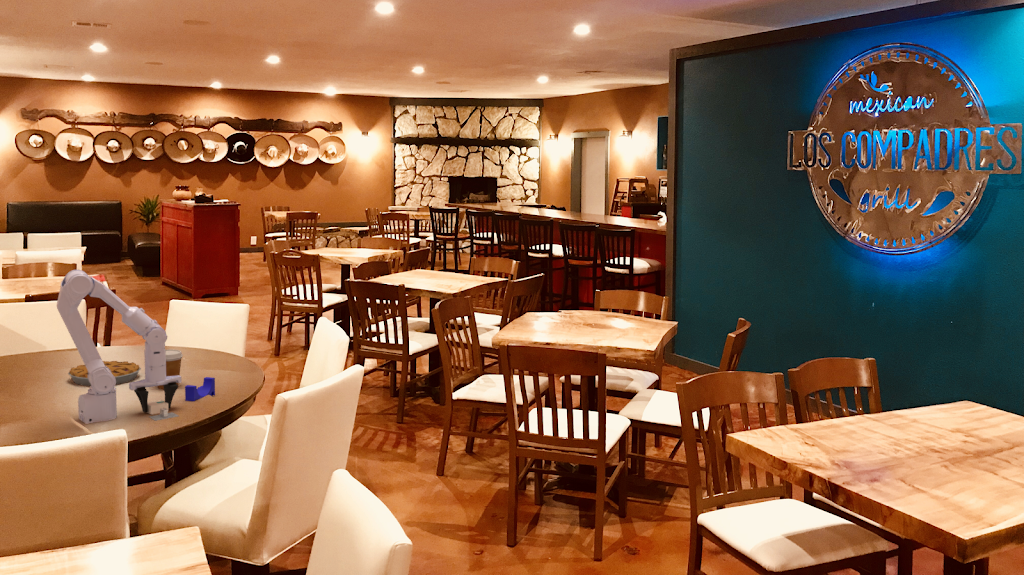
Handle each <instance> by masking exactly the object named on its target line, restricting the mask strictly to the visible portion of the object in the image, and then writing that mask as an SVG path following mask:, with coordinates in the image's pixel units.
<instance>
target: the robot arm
mask: <svg viewBox="0 0 1024 575" xmlns="http://www.w3.org/2000/svg"><path fill="white" fill-rule="evenodd" d="M87 295H88V296H89V297H91V298H97V299H98V298H99V299H101V300H102V301H103V302H105V303H106V304H107V305H108V306H110V307H111V308H112V309H113V310H115V311H116V312H118V313H119V315H121V322H122V323H123V324H124V325H126V326H127V327H129V328H130V329H131V330H132V331H133V332H135V333H136V334H137V335H138V336H140V337H141V336H142V337H141V338H142V339H143V340H144V353H143V354H144V355H143V356H144V379H141V380H140V379H139V380H136V381H133V382H132V381H131V382H128V389H129V390H130V391H134V394H136V396H137V399H138V400H139V403H140V406H141V411H142V412H143V413H148V404H147V402H148V400H149V399H148V398H149V391H148V390H147V388H152V387H158V386H159V385H163V386H164V389H163V391H164V402H166V403H168V409H171V405H172V401H173V398H174V396H175V393H176V391H177V390H178V388H179V385H177V384H176V383H179V384H181V383H182V376H181V375H180V376H179V375H177V376H166V350H167V349H166V342H167V340H168V335H167V332H166V330H165V329H164V328H163V327H162V326H161V325H160V324H159V323H158V320H156V319H153V318H151V317H150V316H149V315H148V314H147V313H145V312H146V311H145V310H144V309H143V307H140V308H139V307H138V306H130V305H128V304H127V303H126V302H124V300H122V299H121V298H120V297H119V296H118V295H117V294H115V293H114V292H113V291H112V290H111V289H110V288H109V287H108V286H106V284H104V283H102V282H101V281H100V280H98V279H96V278H94V277H93V276H89V274H88V273H86V272H85V271H84V270H82V269H81V270H80V269H73V270H70V271H69V272H68V273H66V274H65V276H64V278H63V279H62V280H61V282H60V289H59V292H58V297H57V302H56V309H57V311H58V313H59V315H60V318H61V319H62V321H63V323H64V325H65V327H66V329H67V331H68V334H69V335H70V337H71V340H72V341H73V344H74V345H75V348H76V349H77V352H78V354H79V355H80V358H81V359H82V362H83V363H84V364H83V365H85V366H86V368H87V370H88V381H89V382H90V383H91V386H89V388H88V389H87V392H85V393H84V394H83V393H82V394H80V395H78V399H77V400H78V401H77V403H78V407H77V408H78V420H80V421H81V422H83V423H84V424H86V425H87V424H94V423H99V422H107V421H111V420H115V419H116V418H117V417H118V415H117V414H118V413H117V412H118V408H117V406H118V404H117V388H116V385H117V384H116V379H115V377H114V375H113V374H112V372H111V370H110V369H109V368H108V367H106V366H105V365H104V363H103V361H104V360H103V358H102V357H101V355H100V353H99V350H98V349H97V347H96V344H95V342H94V340H93V338H92V337H91V334H90V333H89V330H88V328H87V326H86V324H85V322H84V319H83V318H82V315H81V314H80V311H79V309H78V308H79V306H80V304H81V303H82V301H83V299H85V297H87Z"/></svg>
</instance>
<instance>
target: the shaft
mask: <svg viewBox="0 0 1024 575" xmlns="http://www.w3.org/2000/svg"><path fill="white" fill-rule="evenodd" d="M168 410H169V409H168ZM168 410H167V409H165V408H160V413H159V415H160V416H162V417H163V418H165V417H168V413H169V412H168Z"/></svg>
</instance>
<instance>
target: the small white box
mask: <svg viewBox="0 0 1024 575" xmlns="http://www.w3.org/2000/svg"><path fill="white" fill-rule="evenodd" d="M147 404H148V412H147V414H150V415H151V416H153V415H159V414H160V408H165V409H167V410H168V413H170V412H169V408H168V403H166V402H165V400H163V399H159V400H153V401H147Z"/></svg>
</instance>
